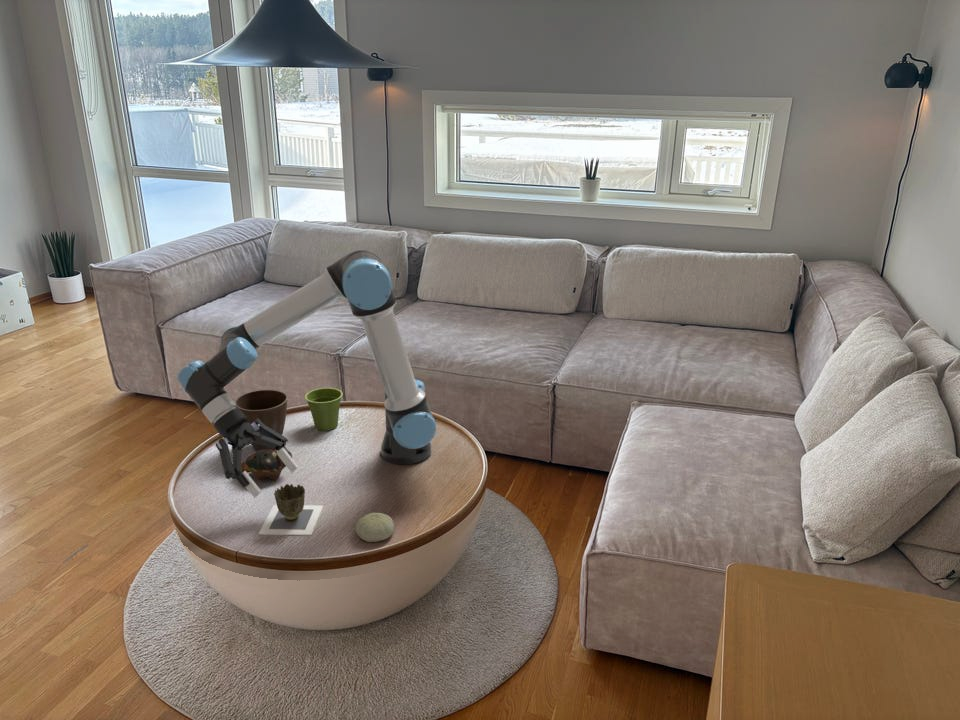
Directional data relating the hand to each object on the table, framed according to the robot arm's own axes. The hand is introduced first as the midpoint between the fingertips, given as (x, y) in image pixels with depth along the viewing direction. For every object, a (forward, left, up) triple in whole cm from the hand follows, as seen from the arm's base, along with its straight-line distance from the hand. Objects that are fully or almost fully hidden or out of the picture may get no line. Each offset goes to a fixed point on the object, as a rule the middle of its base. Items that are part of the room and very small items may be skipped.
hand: (277, 482), depth 178 cm
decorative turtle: (+10, -21, -11) cm, 26 cm away
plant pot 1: (+15, -38, -11) cm, 42 cm away
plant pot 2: (0, -53, -11) cm, 54 cm away
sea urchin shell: (-25, +6, -11) cm, 28 cm away
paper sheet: (-3, +1, -10) cm, 11 cm away
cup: (-3, +1, -10) cm, 11 cm away
